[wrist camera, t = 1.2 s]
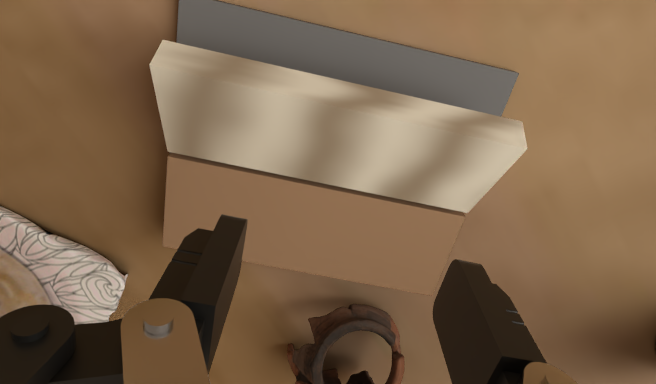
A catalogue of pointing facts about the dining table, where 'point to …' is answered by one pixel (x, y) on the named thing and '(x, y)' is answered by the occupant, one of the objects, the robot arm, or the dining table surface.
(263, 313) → the dining table surface
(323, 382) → the pottery mug
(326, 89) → the plank
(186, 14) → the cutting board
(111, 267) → the cookie jar
